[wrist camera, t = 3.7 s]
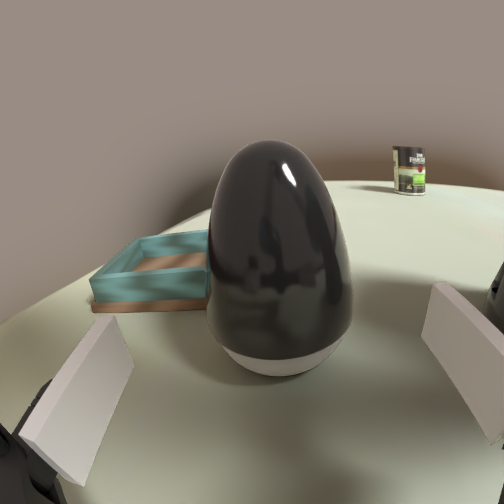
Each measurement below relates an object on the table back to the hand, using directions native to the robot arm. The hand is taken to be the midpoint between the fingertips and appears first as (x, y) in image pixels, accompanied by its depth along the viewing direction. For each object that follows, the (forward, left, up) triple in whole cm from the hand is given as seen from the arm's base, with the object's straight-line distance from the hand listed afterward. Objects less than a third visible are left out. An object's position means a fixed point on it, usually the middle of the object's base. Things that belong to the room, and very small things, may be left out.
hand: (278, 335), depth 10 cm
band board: (+13, -23, -8) cm, 28 cm away
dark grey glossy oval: (0, -9, -8) cm, 12 cm away
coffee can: (-45, -68, -8) cm, 82 cm away
